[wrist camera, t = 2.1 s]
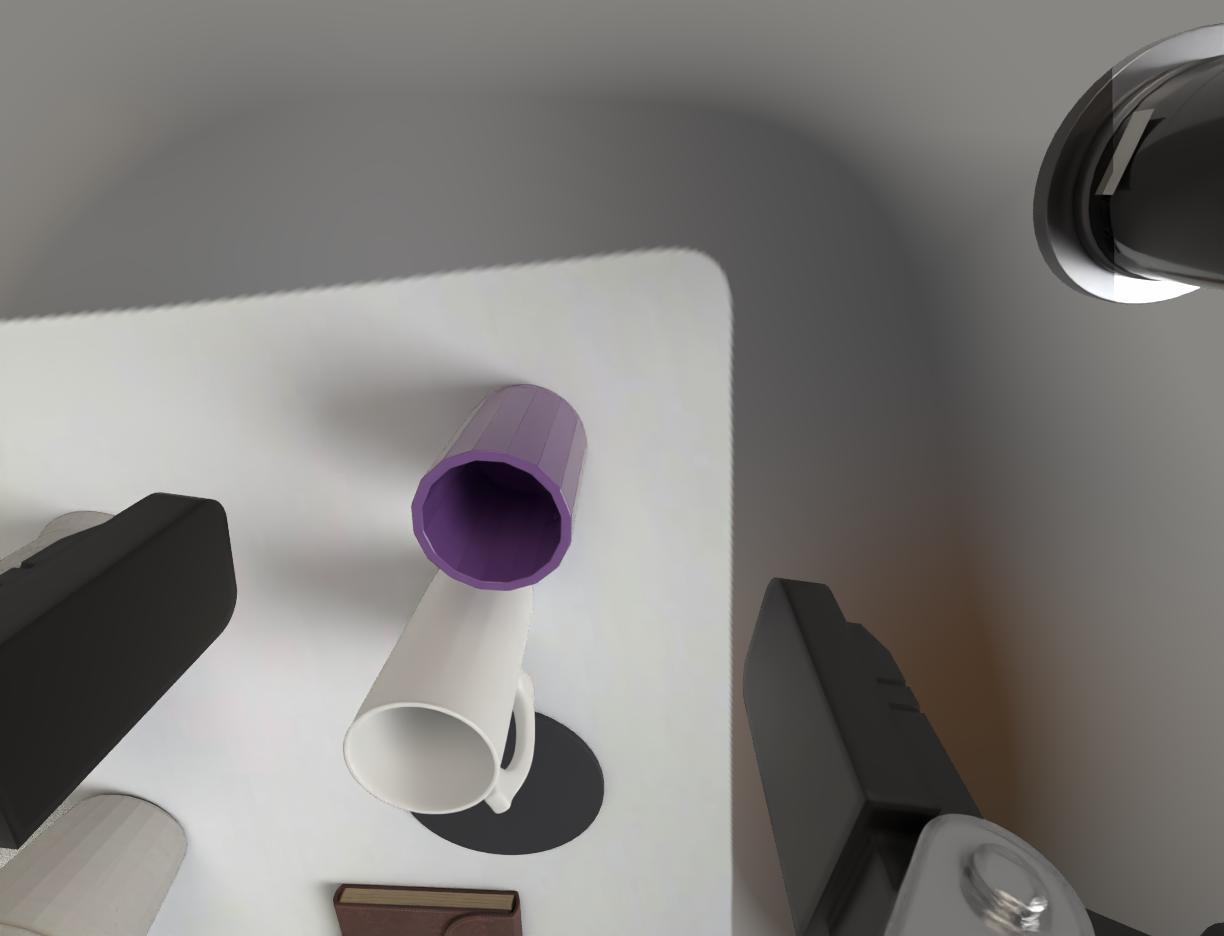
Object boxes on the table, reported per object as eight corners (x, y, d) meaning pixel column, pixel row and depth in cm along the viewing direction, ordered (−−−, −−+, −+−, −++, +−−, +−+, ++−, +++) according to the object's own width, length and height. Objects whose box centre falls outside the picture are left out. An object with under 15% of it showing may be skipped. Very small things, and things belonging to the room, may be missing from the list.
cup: (561, 367, 31) (535, 430, 23) (603, 476, 33) (593, 567, 25) (447, 406, 32) (383, 478, 24) (496, 509, 34) (453, 606, 26)
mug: (405, 577, 36) (309, 741, 26) (494, 527, 35) (431, 679, 24) (504, 686, 40) (456, 871, 29) (589, 645, 38) (571, 825, 27)
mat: (559, 683, 40) (558, 688, 39) (631, 827, 45) (631, 834, 45) (360, 731, 42) (357, 737, 42) (452, 863, 48) (450, 870, 47)
